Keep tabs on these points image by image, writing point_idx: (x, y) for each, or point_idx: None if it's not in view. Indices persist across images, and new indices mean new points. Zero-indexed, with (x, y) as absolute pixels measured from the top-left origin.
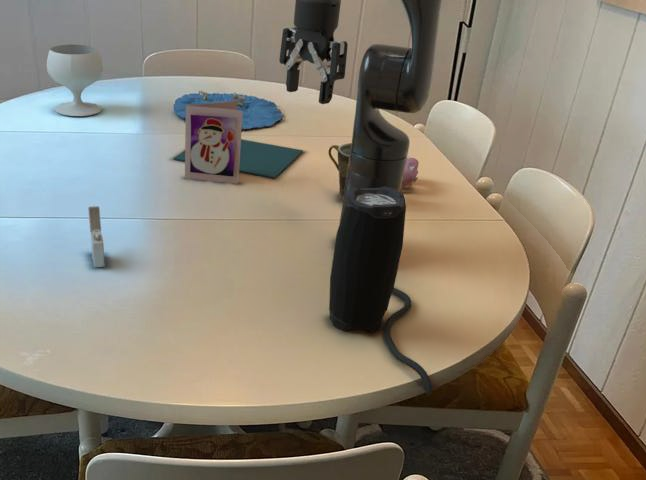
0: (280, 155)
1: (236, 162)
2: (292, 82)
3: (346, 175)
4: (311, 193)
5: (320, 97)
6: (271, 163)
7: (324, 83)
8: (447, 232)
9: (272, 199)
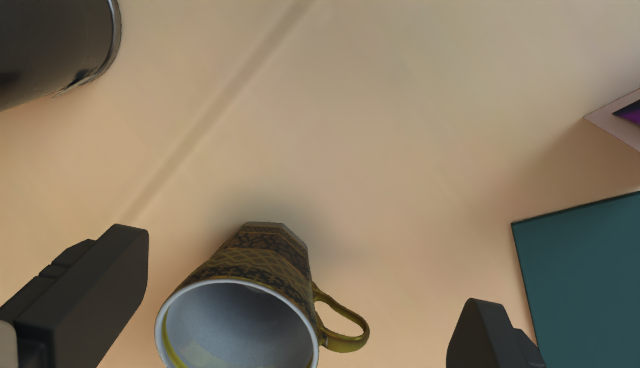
0: (587, 357)
1: (630, 132)
2: (477, 364)
3: (254, 251)
4: (371, 211)
5: (112, 244)
6: (577, 298)
7: (22, 323)
8: (20, 240)
9: (428, 98)
